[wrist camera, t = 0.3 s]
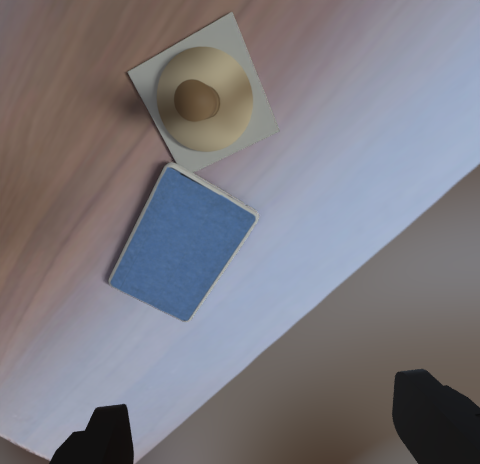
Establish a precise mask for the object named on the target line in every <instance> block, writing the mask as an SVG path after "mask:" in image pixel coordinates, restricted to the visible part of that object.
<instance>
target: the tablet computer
mask: <svg viewBox="0 0 480 464" xmlns="http://www.w3.org/2000/svg"><path fill="white" fill-rule="evenodd" d="M258 220H259V213H258V212H257V211H256V210H255V209H253V208H251V207H250V206H248V205H244V203H243V202H242V201H240V200H238V199H237V198H235V197H233V196H231V195H230V194H228V193H226V192H225V191H223V190H222V189H220V188H218V187H216V186H215V185H213V184H211V183H209V182H208V181H206V180H204V179H203V178H201V177H199V176H197V175H196V174H194V173H192V172H190V171H189V170H187V169H185V168H183V167H182V166H180V165H178V164H176V163H173V162H169V163H167V164H166V165H165V166H164V168H163V170H162V172H161V174H160V176H159V178H158V180H157V182H156V184H155V186H154V188H153V190H152V192H151V194H150V196H149V198H148V200H147V202H146V204H145V206H144V208H143V210H142V212H141V214H140V216H139V218H138V220H137V222H136V224H135V226H134V228H133V230H132V232H131V234H130V236H129V238H128V240H127V242H126V244H125V246H124V249H123V251H122V253H121V255H120V257H119V259H118V261H117V263H116V265H115V267H114V269H113V271H112V273H111V275H110V277H109V280H108V282H109V285H110V286H111V287H113V288H115V289H117V290H119V291H121V292H123V293H125V294H127V295H129V296H131V297H133V298H135V299H137V300H139V301H142V302H144V303H146V304H148V305H150V306H152V307H154V308H156V309H158V310H160V311H162V312H164V313H166V314H168V315H170V316H172V317H174V318H176V319H179V320H181V321H183V322H189V321H190V320H191V319H192V318H193V316H194V315H195V314H196V312H197V311H198V309H199V308H200V306H201V305H202V303H203V302H204V300H205V299H206V297H207V296H208V295H209V293H210V292H211V290H212V289H213V287H214V286H215V284H216V283H217V281H218V280H219V278H220V277H221V275H222V274H223V272H224V271H225V269H226V268H227V267H228V265H229V264H230V262H231V261H232V259H233V258H234V256H235V255H236V254H237V252H238V251H239V249H240V248H241V246H242V245H243V243H244V241H245V240H246V238H247V237H248V236H249V234H250V232H251V231H252V229H253V228H254V226H255V225H256V223H257V222H258Z"/></svg>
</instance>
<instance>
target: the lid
mask: <svg viewBox="0 0 480 464" xmlns="http://www.w3.org/2000/svg"><path fill="white" fill-rule="evenodd" d="M157 106H158V111H159V114H160V117H161V120H162V122H163V124H164V126H165V127H166V129H167V130H168V132H169V133H170V134H171V135H172V136H173V137H174V138H175V139H176V140H177V141H178V142H179V143H181V144H182V145H184V146H186V147H188V148H190V149H193V150H196V151H202V152H212V151H217V150H221V149H223V148H226V147H228V146H229V145H231V144H233V143H234V142H235V141H236V140H237V139H238V138H239V137H240V136H241V135H242V134H243V132H244V131H245V129H246V128H247V126H248V123H249V121H250V118H251V114H252V109H253V94H252V88H251V85H250V82H249V79H248V77H247V75H246V73H245V71H244V70H243V68H242V67H241V66H240V64H239V63H238V62H237V61H236V60H235V59H234V58H233V57H231V56H230V55H228V54H227V53H225V52H223V51H221V50H219V49H216V48H212V47H193V48H190V49H187V50H185V51H183V52H181V53H179V54H178V55H176V56H175V57H174V58H173V59H172V60H171V61H170V62H169V63H168V64H167V65H166V67H165V69H164V70H163V72H162V74H161V77H160V79H159V83H158V88H157Z"/></svg>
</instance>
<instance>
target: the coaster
mask: <svg viewBox="0 0 480 464" xmlns="http://www.w3.org/2000/svg"><path fill="white" fill-rule="evenodd" d="M193 47H212V48H216V49H219V50H221V51H223V52H225V53H227V54H228V55H230V56H231V57H233V58H234V59H235V60H236V61H237V62H238V63H239V64H240V66H241V67H242V68H243V70H244V71H245V73H246V75H247V77H248V79H249V82H250V85H251V88H252V94H253V109H252V114H251V118H250V121H249V123H248V126H247V128H246V129H245V131H244V132H243V134H242V135H241V136H240V137H239V138H238V139H237V140H236V141H235V142H234V143H233V144H231V145H229V146H228V147H226V148H223V149H221V150H217V151H212V152H202V151H196V150H193V149H190V148H188V147H186V146H184V145H182V144H181V143H179V142H178V141H177V140H176V139H175V138H174V137H173V136H172V135H171V134H170V133H169V132H168V130H167V129H166V127H165V126H164V124H163V122H162V120H161V117H160V114H159V111H158V106H157V88H158V83H159V79H160V77H161V74H162V72H163V70H164V69H165V67H166V65H167V64H168V63H169V62H170V61H171V60H172V59H173V58H174V57H175V56H176V55H178V54H179V53H181V52H183V51H185V50H187V49H190V48H193ZM128 74H129V76H130V78H131V80H132V81H133V83H134V85H135V87H136V89H137V91H138V92H139V94H140V96H141V98H142V100H143V102H144V104H145V105H146V107H147V109H148V111H149V113H150V115H151V117H152V118H153V120H154V122H155V124H156V126H157V128H158V130H159V131H160V133H161V135H162V137H163V139H164V141H165V143H166V144H167V146H168V148H169V150H170V152H171V154H172V155H173V157H174V159H175V161H176V163H177V164H178V165H180V166H182V167H183V168H185V169H187V170H189V171H190V172H192V173H194V172H196V171H198V170H200V169H202V168H204V167H206V166H208V165H210V164H212V163H215V162H217V161H219V160H221V159H223V158H225V157H227V156H229V155H231V154H233V153H235V152H238V151H240V150H242V149H244V148H246V147H248V146H250V145H252V144H254V143H256V142H258V141H260V140H263V139H265V138H267V137H269V136H271V135H273V134H275V133H277V132H279V131H280V130H279V128H278V125H277V123H276V120H275V118H274V115H273V113H272V110H271V108H270V105H269V103H268V100H267V98H266V95H265V93H264V90H263V88H262V85H261V83H260V80H259V78H258V75H257V73H256V70H255V68H254V65H253V63H252V60H251V58H250V55H249V53H248V50H247V48H246V45H245V43H244V40H243V38H242V35H241V33H240V30H239V28H238V25H237V23H236V20H235V17H234V15H233V12H231V13H229V14H227V15H226V16H224V17H222V18H220V19H219V20H217V21H215V22H213V23H212V24H210V25H208V26H207V27H205V28H203V29H201V30H200V31H198V32H196V33H194V34H193V35H191V36H189V37H187V38H186V39H184V40H182V41H181V42H179V43H177V44H175V45H174V46H172V47H170V48H168V49H167V50H165V51H163V52H162V53H160V54H158V55H156V56H155V57H153V58H151V59H149V60H148V61H146V62H144V63H142V64H141V65H139V66H137V67H136V68H134V69H132V70H130V71H129V72H128Z"/></svg>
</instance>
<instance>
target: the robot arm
mask: <svg viewBox="0 0 480 464" xmlns="http://www.w3.org/2000/svg"><path fill="white" fill-rule="evenodd" d="M392 417H393V422H394V425H395V429H396V431H397V433H398V435H399V437H400V438H401V440H402V441H403V443H404V444H405V445H406V447H407V448H408V450H409V451H410V453H411V454H412V455H413V457H414V458H415V460H416V461H417V462H418V464H480V408H479V407H478V406H477V405H476V404H475V403H474V402H472V401H471V400H470V399H469V398H468V397H466V396H464V395H463V394H461V393H459V392H458V391H456V390H454V389H452V388H451V387H449V386H447V385H446V386H443V385H442V384H441V383H440V382H439V381H437V380H436V379H435V378H434V377H433V376H432V375H431V374H430V373H429V372H428V371H426V370H424V369H417V370H408V371H401V372H397V373H396V375H395V384H394V397H393V410H392ZM133 460H134V450H133V442H132V436H131V429H130V422H129V416H128V410H127V406H126V405H125V404H120V405H112V406H104V407H97V408H96V409H95V410H94V412H93V414H92V416H91V418H90V421H89V423H88V425H87V427H86V429H85V431H77V432H73V433H72V434H71V435H70V436H69V437H68V438H67V440H66V441H65V442H64V443H63V444H62V445H61V446H60V447H59V448H58V449H57V450H56V451H55V453H54V455H53V457H52V459H51V461H50V463H49V464H133Z"/></svg>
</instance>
